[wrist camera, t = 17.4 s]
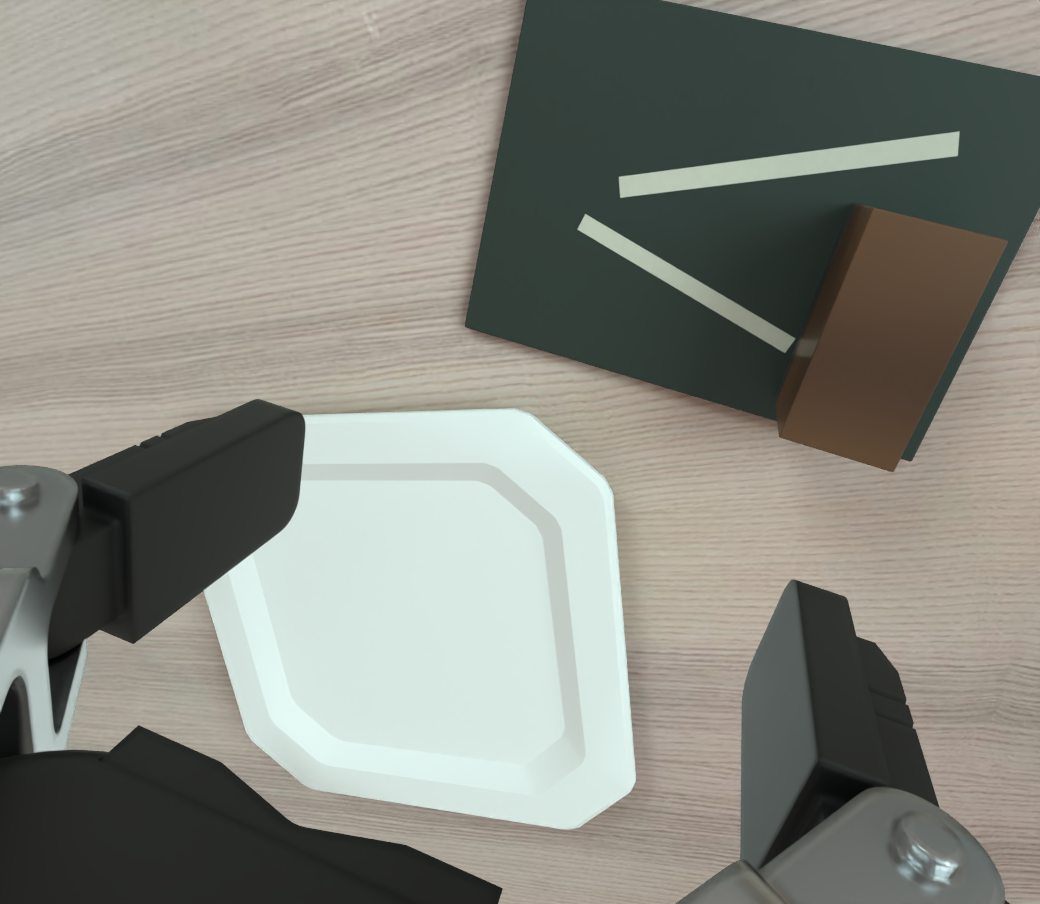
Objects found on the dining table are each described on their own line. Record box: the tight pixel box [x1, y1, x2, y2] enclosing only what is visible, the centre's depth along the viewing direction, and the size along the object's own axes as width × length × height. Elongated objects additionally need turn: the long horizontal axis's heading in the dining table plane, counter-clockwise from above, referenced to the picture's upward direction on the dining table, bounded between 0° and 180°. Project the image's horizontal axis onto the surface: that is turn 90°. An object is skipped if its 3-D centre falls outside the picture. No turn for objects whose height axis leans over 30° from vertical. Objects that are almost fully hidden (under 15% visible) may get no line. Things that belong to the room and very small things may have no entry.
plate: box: [204, 408, 636, 830], centre depth 39 cm, size 25×25×2 cm
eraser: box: [774, 203, 1008, 472], centre depth 25 cm, size 8×4×5 cm, turn 167°
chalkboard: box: [465, 0, 1040, 461], centre depth 28 cm, size 14×20×1 cm
